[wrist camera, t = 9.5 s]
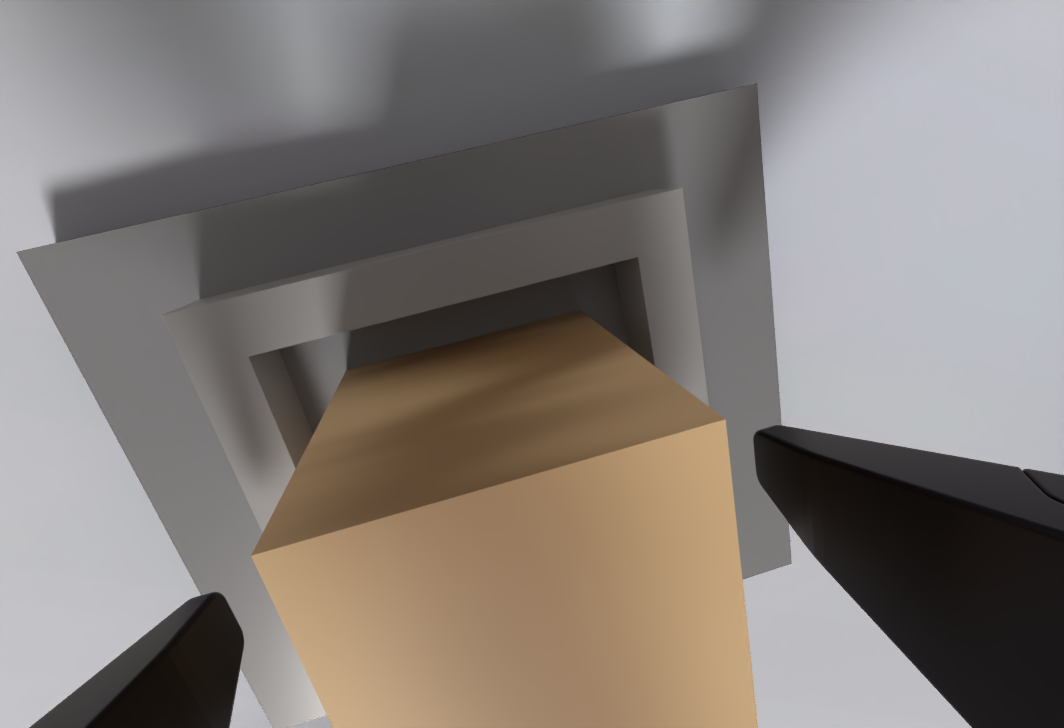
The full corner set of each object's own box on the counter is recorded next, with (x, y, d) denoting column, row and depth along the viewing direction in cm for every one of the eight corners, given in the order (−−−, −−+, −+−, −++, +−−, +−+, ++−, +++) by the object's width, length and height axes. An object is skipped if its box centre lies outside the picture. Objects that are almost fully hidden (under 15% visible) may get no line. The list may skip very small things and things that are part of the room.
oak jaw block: (579, 310, 11) (725, 419, 6) (617, 505, 13) (759, 742, 7) (346, 370, 11) (251, 555, 5) (415, 565, 12) (400, 870, 7)
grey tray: (730, 92, 12) (806, 65, 9) (769, 541, 15) (830, 602, 13) (54, 246, 10) (-60, 261, 8) (285, 696, 14) (256, 796, 12)
